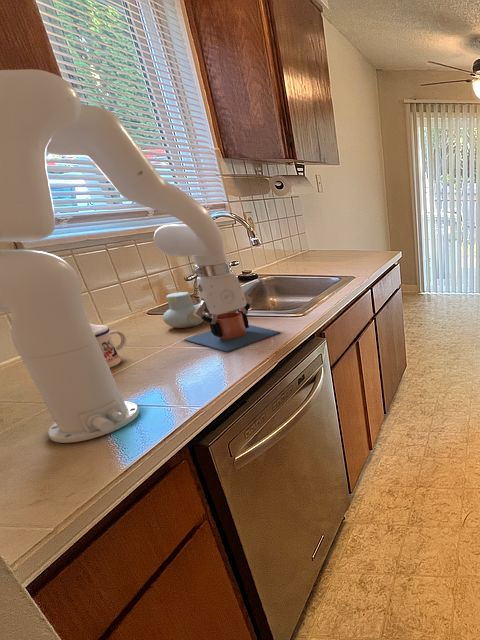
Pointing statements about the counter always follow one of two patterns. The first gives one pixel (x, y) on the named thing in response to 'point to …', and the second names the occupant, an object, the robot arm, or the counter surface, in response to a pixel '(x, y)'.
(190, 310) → the air freshener
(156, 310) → the counter surface
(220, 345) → the mat
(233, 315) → the terracotta flower pot
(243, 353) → the counter surface
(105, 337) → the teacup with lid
